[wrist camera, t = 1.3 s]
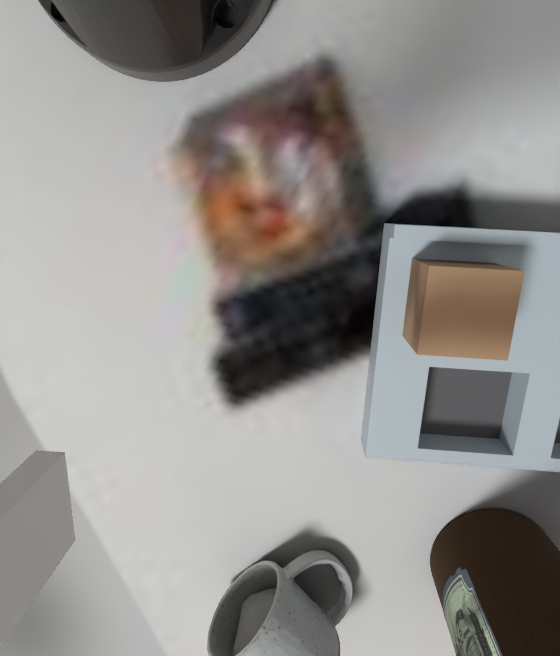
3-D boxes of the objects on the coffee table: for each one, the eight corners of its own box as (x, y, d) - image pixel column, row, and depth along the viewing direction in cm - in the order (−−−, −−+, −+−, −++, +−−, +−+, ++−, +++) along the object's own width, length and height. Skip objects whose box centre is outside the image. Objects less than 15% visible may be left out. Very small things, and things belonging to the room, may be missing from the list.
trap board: (384, 222, 29) (401, 225, 24) (728, 240, 28) (825, 247, 23) (361, 439, 33) (371, 482, 28) (661, 462, 33) (731, 510, 27)
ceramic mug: (280, 649, 39) (276, 751, 32) (215, 591, 38) (194, 682, 30) (372, 584, 37) (391, 676, 30) (306, 520, 36) (308, 599, 28)
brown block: (412, 258, 27) (429, 265, 24) (493, 262, 27) (524, 271, 23) (402, 335, 29) (417, 354, 25) (480, 340, 29) (507, 360, 25)
